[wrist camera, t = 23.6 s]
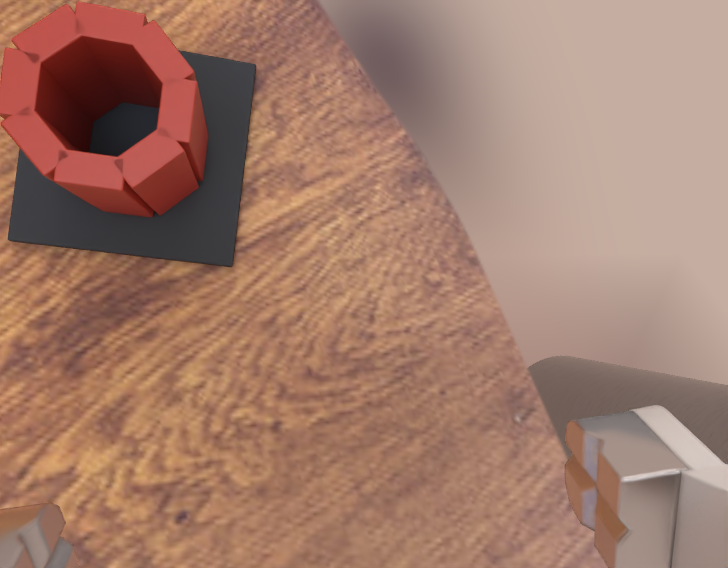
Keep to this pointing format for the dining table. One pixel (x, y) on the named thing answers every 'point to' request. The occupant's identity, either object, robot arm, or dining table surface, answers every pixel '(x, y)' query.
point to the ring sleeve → (104, 107)
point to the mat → (161, 232)
